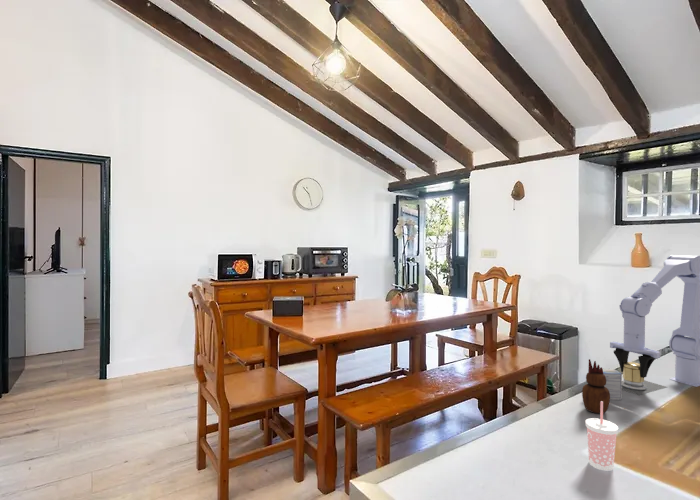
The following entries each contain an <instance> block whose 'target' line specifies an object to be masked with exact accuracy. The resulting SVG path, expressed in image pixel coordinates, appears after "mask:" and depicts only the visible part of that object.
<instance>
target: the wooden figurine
mask: <svg viewBox="0 0 700 500" xmlns="http://www.w3.org/2000/svg"><path fill="white" fill-rule="evenodd" d="M593 361H594V362H593V365H592V361H591V359H588V369H589V372H587V373H586V375H585V379H586V380H585V381H586V383H585V384H584V385H582V389H581V391H582V392H581V395H582V401H583V405H584V408H585V409H586V410H587V411H589V412H591V413H594V414H600V405H601V401H603V414H605V413H606V412H607V411H608V409H609V406H610V402H611V401H610V400H611V399H610V392H609V390H608V389H607V388H606V387H605V385H606V377H605V375H604V374H603V369H604V368H603V367H600V364H597V362H596V360H593Z"/></svg>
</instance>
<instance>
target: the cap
mask: <svg viewBox="0 0 700 500" xmlns="http://www.w3.org/2000/svg"><path fill="white" fill-rule="evenodd" d="M622 379H623V380H624V379H625V380H628V381H631V382H644V380H645V377H644V378H642V377H640V362H639V363H637V362H634V361H628V362H624V366H623V372H622Z"/></svg>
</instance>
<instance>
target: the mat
mask: <svg viewBox="0 0 700 500" xmlns="http://www.w3.org/2000/svg"><path fill="white" fill-rule="evenodd" d="M644 385H646V387H647V389H646V390H644V391H637V390H631V389H627V388H624V387H622V389H621V391H625V392H628V393H631V394H634V395H637V396H641V395H645V394H648V393H649V394H650V393H651V392H655V391H659V390H663V389H666V388H667V386H665V385H662V384H658V383H655V382H652V381H648V380H645V379H644Z"/></svg>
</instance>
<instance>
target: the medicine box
mask: <svg viewBox="0 0 700 500" xmlns="http://www.w3.org/2000/svg"><path fill="white" fill-rule="evenodd" d="M602 369H603V374H604V375H605V377H606V385H605V387H606V388H607V389H608V390H609V392H610V400H616V401H617V400H618V401H620V400H621V401H622V390H621V389H622V381H623V373H621V371H618V370H617V369H615V368H602ZM588 372H589V368H588ZM588 372H587V373H588Z"/></svg>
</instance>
